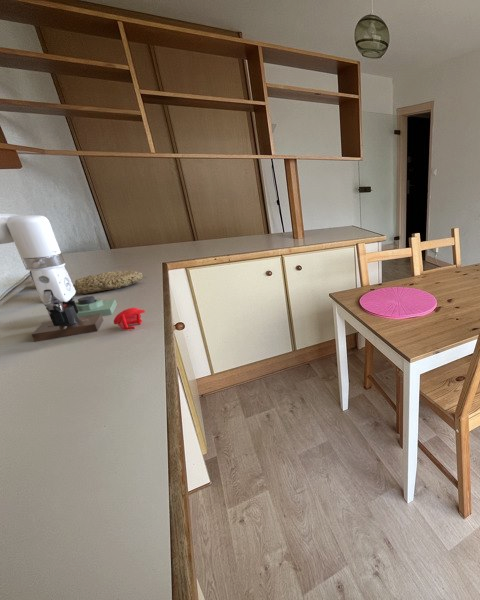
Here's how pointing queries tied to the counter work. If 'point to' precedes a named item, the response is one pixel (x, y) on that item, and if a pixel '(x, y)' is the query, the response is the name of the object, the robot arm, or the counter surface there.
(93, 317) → the panel
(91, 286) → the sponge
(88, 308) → the button box
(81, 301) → the button
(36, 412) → the counter surface
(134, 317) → the red curved open piece
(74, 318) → the knob
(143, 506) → the counter surface
